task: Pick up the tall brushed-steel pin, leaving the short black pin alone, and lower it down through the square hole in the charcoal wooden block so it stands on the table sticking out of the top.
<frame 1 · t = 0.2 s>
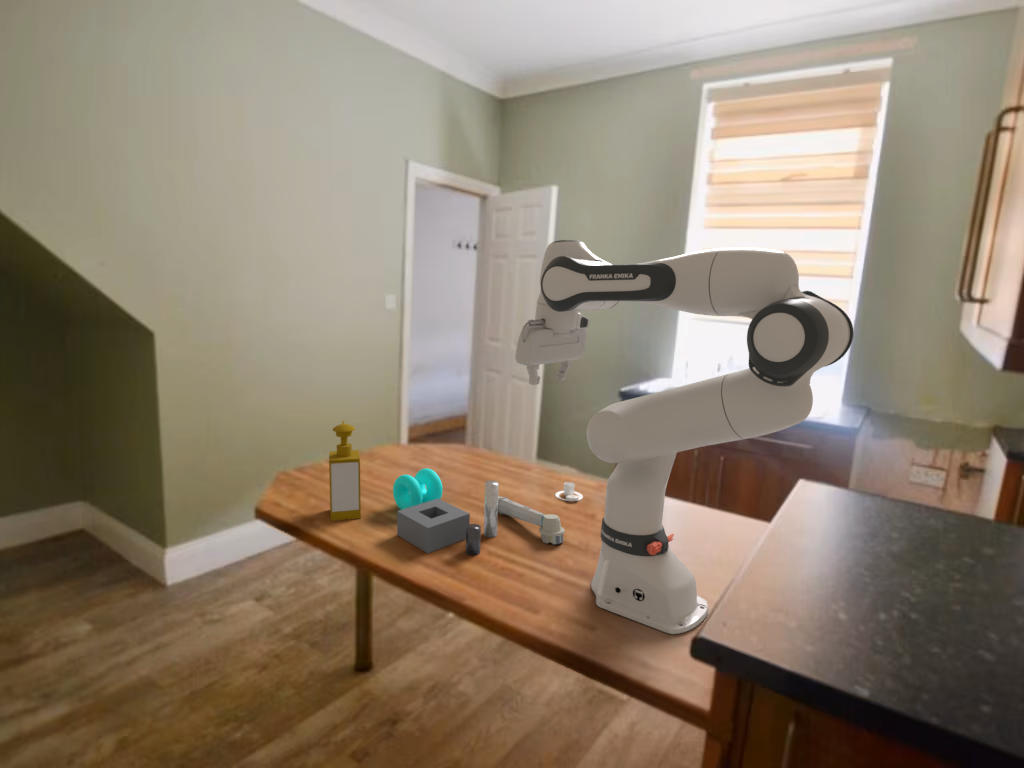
hand: (547, 381, 121), 39 cm above the table, tool pointing down, fingers open, 8 cm apart
hole block: (433, 536, 131), on the table
teacup and saucer: (560, 500, 158), on the table
short pin: (472, 552, 124), on the table
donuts: (417, 508, 147), on the table
toothbrush head: (525, 527, 139), on the table
long pin: (490, 534, 133), on the table
soap bottle: (345, 510, 144), on the table
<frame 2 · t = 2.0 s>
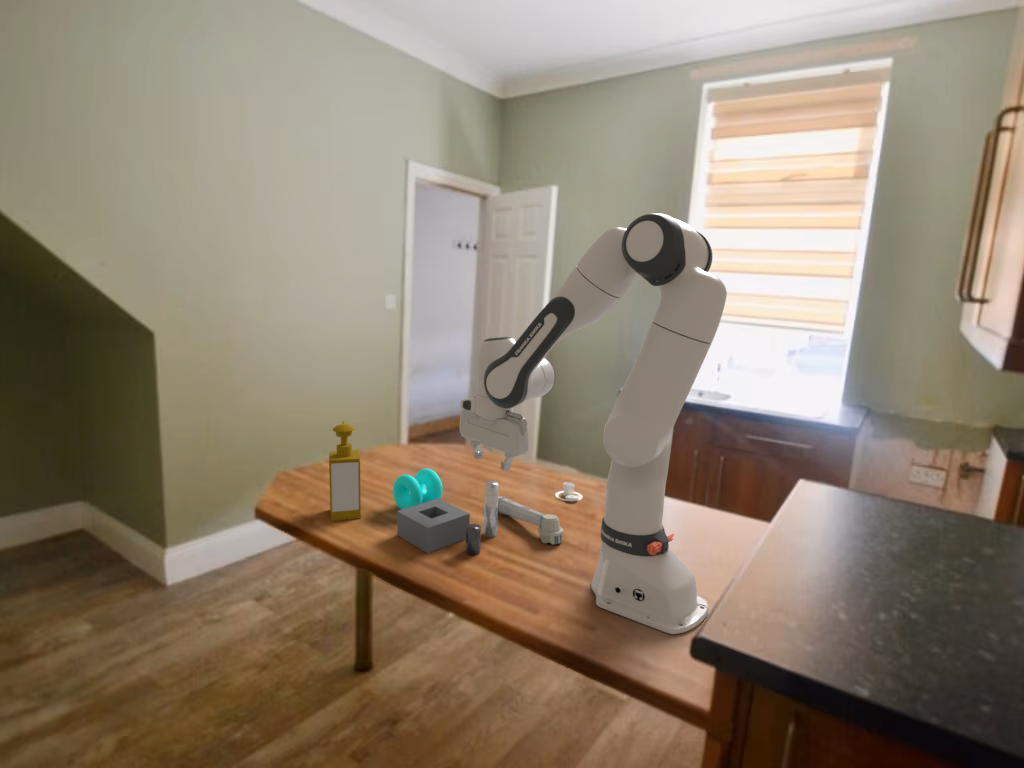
hand: (491, 464, 130), 18 cm above the table, tool pointing down, fingers open, 8 cm apart
nothing on the table moved.
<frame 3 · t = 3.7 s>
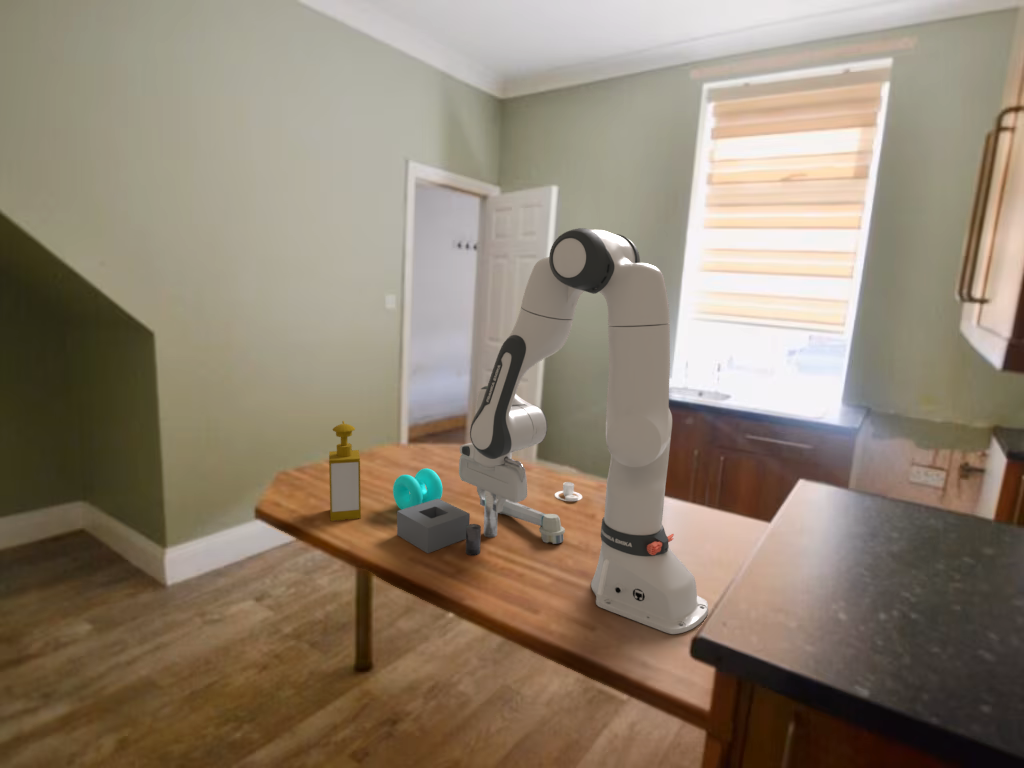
hand: (491, 508, 132), 7 cm above the table, tool pointing down, fingers closed on long pin, 3 cm apart
long pin: (490, 534, 133), on the table, touching gripper
everything else where it was.
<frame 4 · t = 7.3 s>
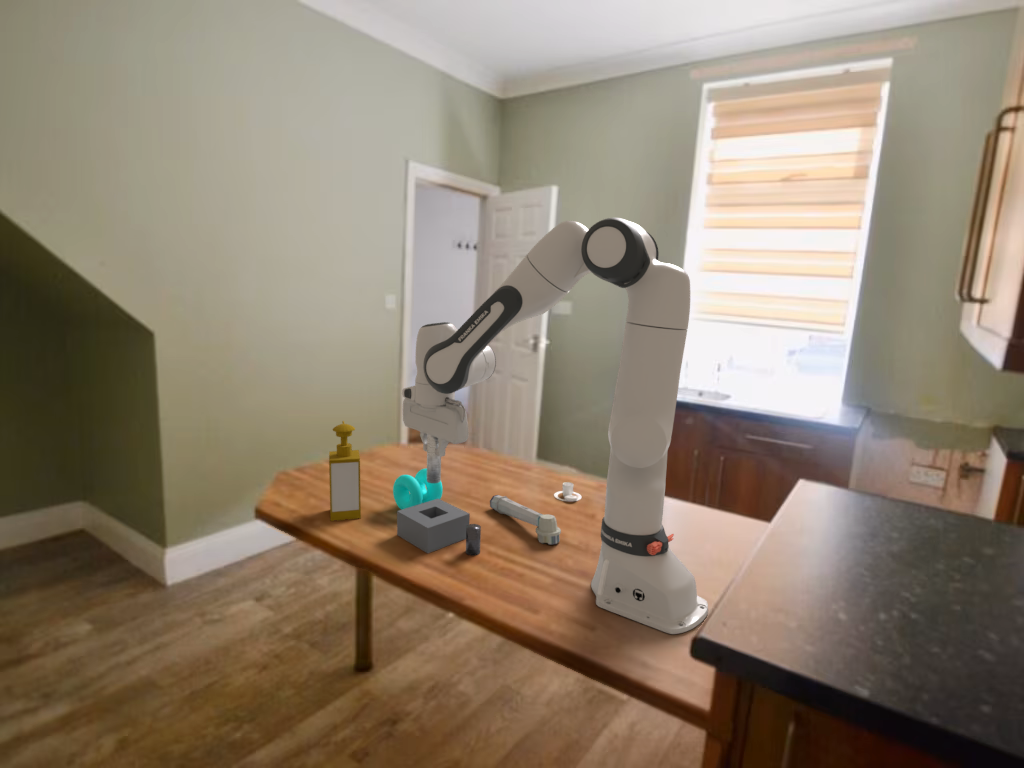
hand: (434, 453, 127), 20 cm above the table, tool pointing down, fingers closed on long pin, 3 cm apart
long pin: (433, 480, 129), point 14 cm above the table, touching gripper
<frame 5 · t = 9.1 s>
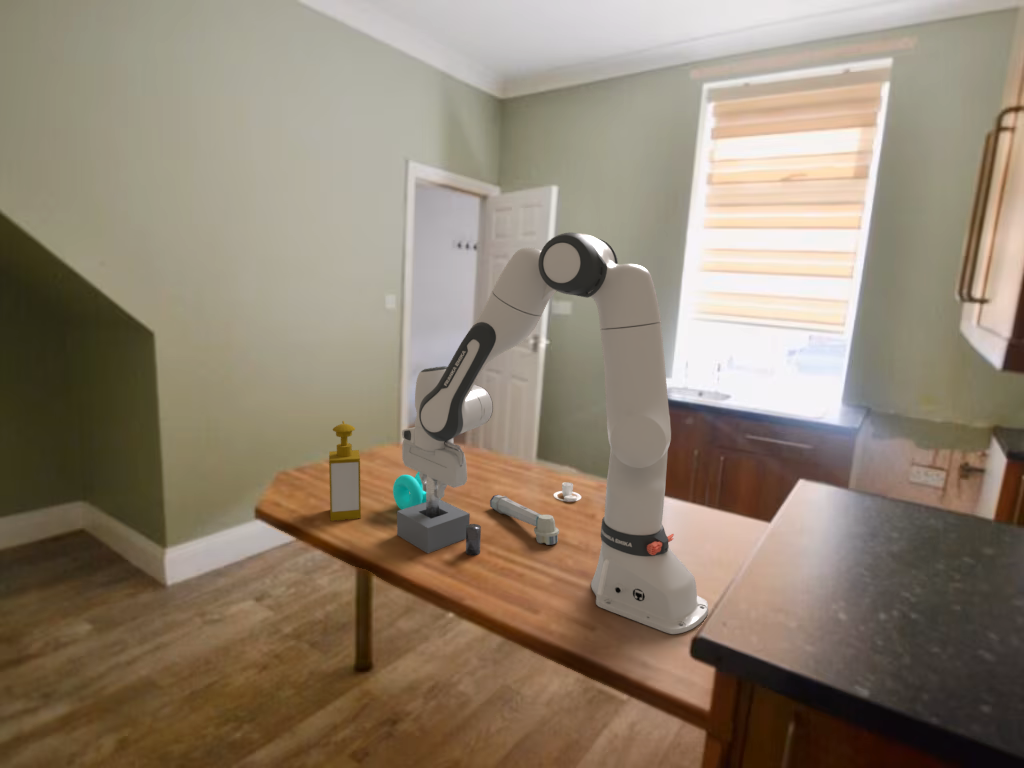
hand: (433, 494, 129), 10 cm above the table, tool pointing down, fingers closed on long pin, 3 cm apart
long pin: (432, 520, 130), point 4 cm above the table, touching gripper
everything else where it was.
when the fingers open (8 cm above the table, at t = 10.9 s): long pin drops 1 cm, resting in hole block.
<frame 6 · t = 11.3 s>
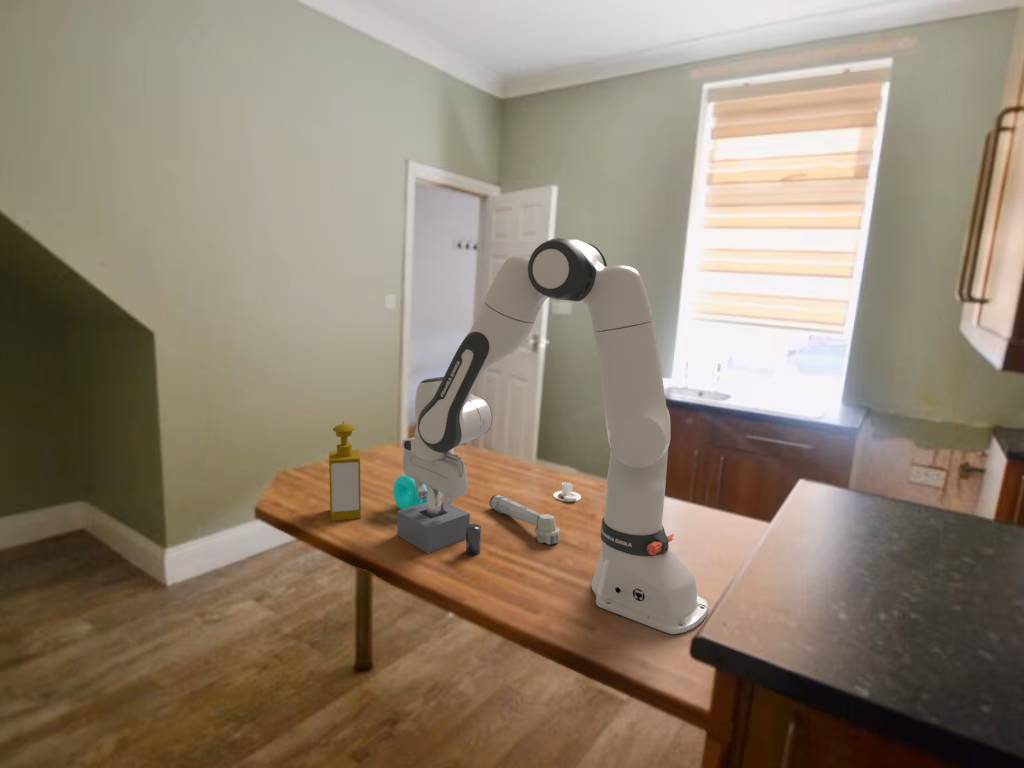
hand: (433, 503, 130), 8 cm above the table, tool pointing down, fingers open, 8 cm apart
long pin: (433, 536, 131), resting in hole block
everything else where it was.
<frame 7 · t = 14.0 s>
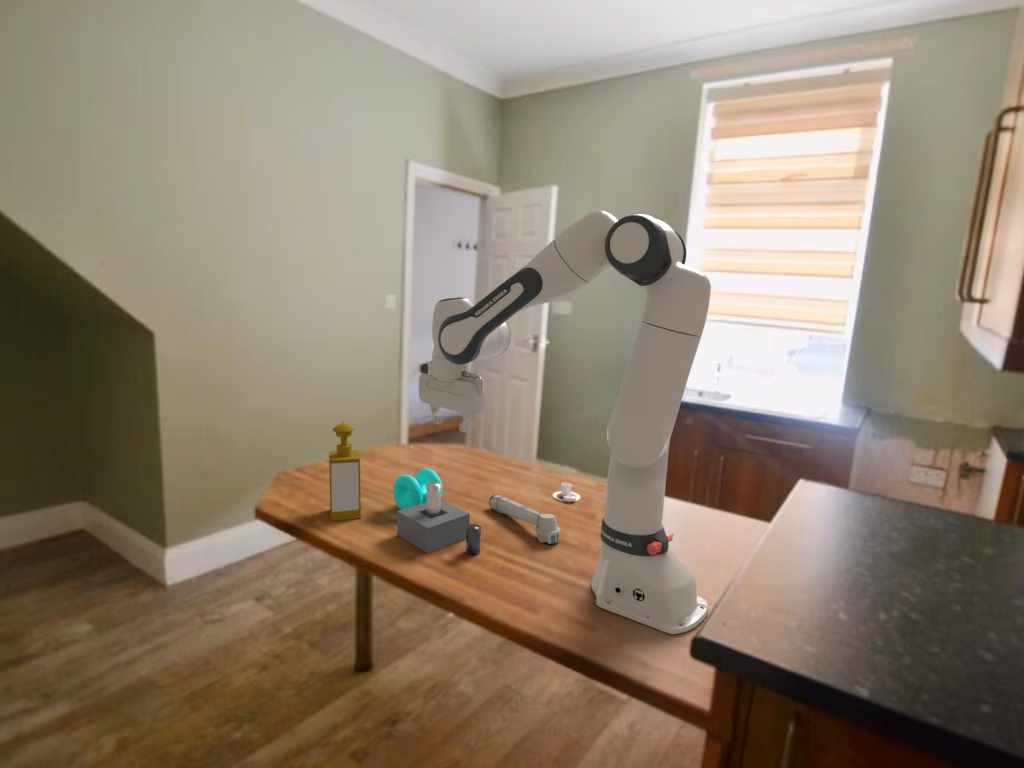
hand: (450, 427, 130), 26 cm above the table, tool pointing down, fingers open, 8 cm apart
nothing on the table moved.
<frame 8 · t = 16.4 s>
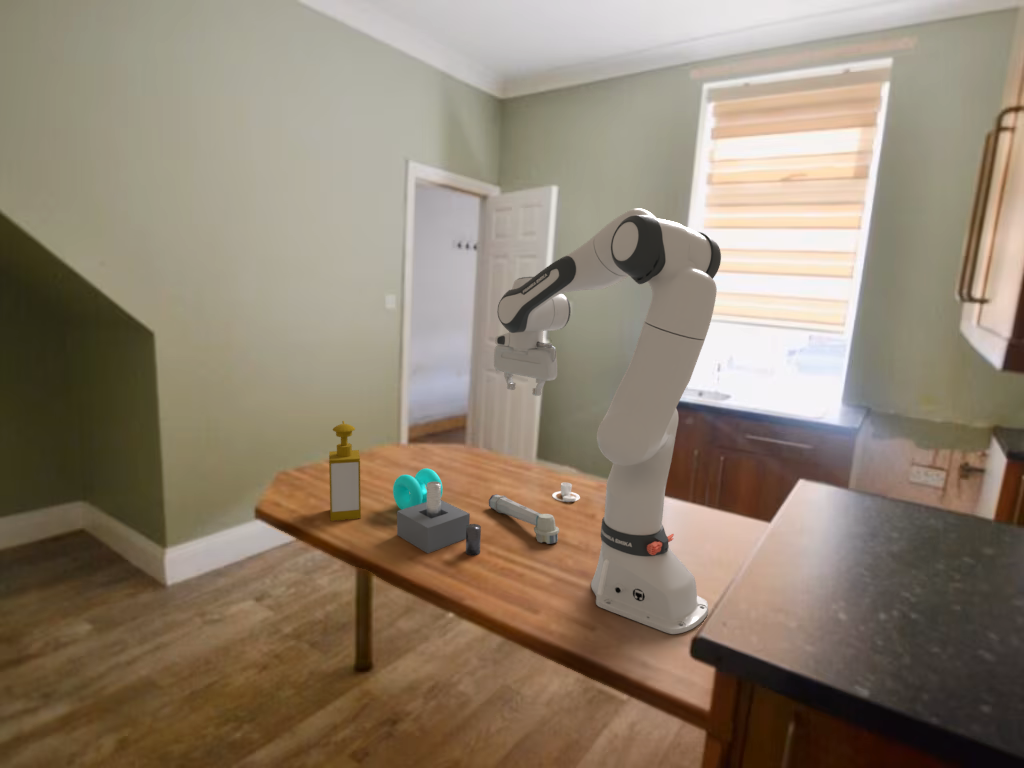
hand: (523, 392, 147), 31 cm above the table, tool pointing down, fingers open, 8 cm apart
at the end: long pin 0.1 cm off-centre on the hole block, point 0.0 cm above the hole block's base; long pin tilted 0°; the gripper is holding nothing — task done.
